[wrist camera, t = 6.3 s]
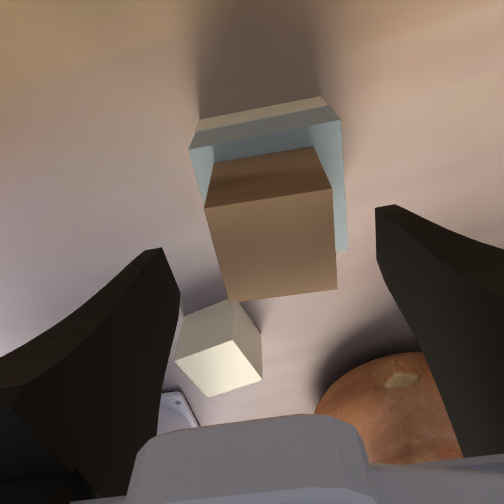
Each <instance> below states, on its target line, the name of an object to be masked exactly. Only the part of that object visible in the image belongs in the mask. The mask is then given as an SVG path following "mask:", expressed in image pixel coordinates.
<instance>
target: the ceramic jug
mask: <svg viewBox="0 0 504 504" xmlns="http://www.w3.org/2000/svg"><path fill="white" fill-rule="evenodd" d="M314 414H328V415H330V416H332V417H335V418H337V419H340V420H342V421H344V422H347V423H349V424H351V425H353V426H355V428H356V430H357V431H358V433H359V434H360V436H361V438H362V439H363V441H364V444H365V448H366V452H367V456H368V459H369V463H383V464H397V465H405V464H414V463H423V462H432V461H441V460H450V459H459V458H463V455H462V452H461V449H460V446H459V444H458V441H457V438H456V435H455V433H454V430H453V427H452V425H451V422H450V419H449V417H448V414H447V411H446V409H445V406H444V403H443V401H442V398H441V396H440V393H439V391H438V388H437V386H436V383H435V381H434V378H433V376H432V373H431V371H430V368H429V366H428V364H427V361H426V359H425V357H424V354H423V352H406V353H399V354H393V355H389V356H384V357H380V358H377V359H374V360H372V361H369V362H367V363H364V364H362V365H360V366H358V367H356V368H354V369H352V370H351V371H349V372H348V373H346V374H345V375H343V376H342V377H341V378H339V379H338V380H337V381H336V382H334V383H333V384H332V385H331V386H330V387H329V388H328V390H327V391H326V392H325V393H324V395H323V396H322V398H321V399H320V401H319V403H318V405H317V407H316V410H315V413H314Z"/></svg>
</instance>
